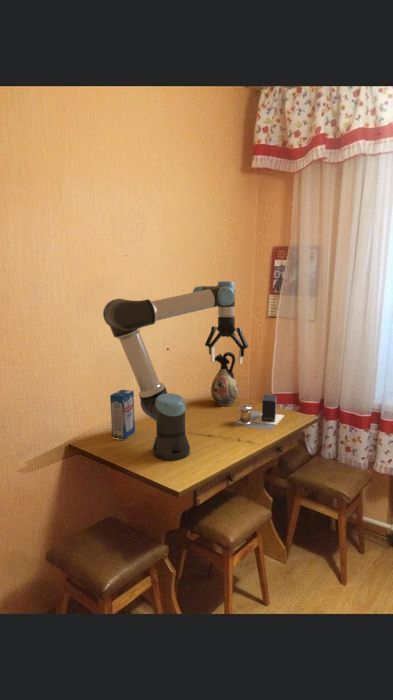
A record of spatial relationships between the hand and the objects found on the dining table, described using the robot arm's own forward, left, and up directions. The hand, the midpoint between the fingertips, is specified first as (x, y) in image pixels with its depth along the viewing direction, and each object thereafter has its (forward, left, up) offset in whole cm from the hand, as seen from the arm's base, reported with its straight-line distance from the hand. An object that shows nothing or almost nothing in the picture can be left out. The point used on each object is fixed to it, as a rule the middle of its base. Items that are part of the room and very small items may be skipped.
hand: (226, 362), depth 196 cm
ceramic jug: (-15, +37, -32) cm, 51 cm away
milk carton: (-39, -27, -32) cm, 57 cm away
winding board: (+12, +15, -32) cm, 37 cm away
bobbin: (+6, +8, -30) cm, 32 cm away
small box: (+16, +17, -30) cm, 38 cm away
